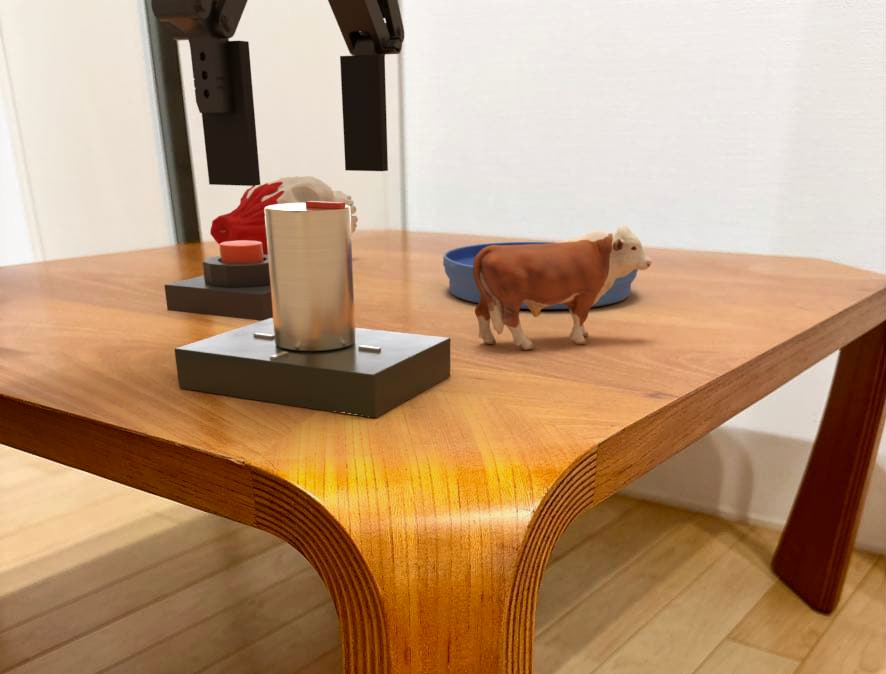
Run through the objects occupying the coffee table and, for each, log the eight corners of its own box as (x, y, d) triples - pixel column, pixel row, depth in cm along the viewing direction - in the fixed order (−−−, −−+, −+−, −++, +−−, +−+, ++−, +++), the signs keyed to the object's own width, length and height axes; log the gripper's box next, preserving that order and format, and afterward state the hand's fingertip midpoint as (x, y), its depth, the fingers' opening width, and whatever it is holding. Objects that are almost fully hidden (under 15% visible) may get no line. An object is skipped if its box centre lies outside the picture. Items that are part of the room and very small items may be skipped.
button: (212, 265, 78) (210, 244, 77) (238, 259, 81) (236, 239, 80) (247, 268, 76) (245, 246, 76) (272, 262, 79) (270, 241, 79)
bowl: (407, 288, 88) (406, 250, 87) (553, 272, 97) (555, 237, 96) (519, 321, 75) (520, 277, 73) (677, 299, 83) (681, 259, 82)
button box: (167, 310, 78) (161, 262, 77) (232, 293, 86) (228, 249, 84) (262, 321, 75) (258, 271, 73) (322, 302, 82) (319, 256, 80)
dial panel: (178, 388, 57) (173, 345, 56) (272, 353, 65) (269, 315, 64) (374, 418, 51) (373, 372, 50) (450, 376, 59) (450, 335, 58)
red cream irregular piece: (365, 254, 105) (247, 284, 98) (317, 243, 113) (205, 269, 106) (354, 171, 100) (229, 196, 93) (305, 165, 108) (187, 187, 101)
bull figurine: (651, 343, 68) (662, 228, 64) (478, 354, 65) (480, 234, 61) (625, 330, 71) (635, 221, 68) (460, 340, 68) (462, 226, 65)
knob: (258, 346, 56) (246, 202, 52) (304, 330, 60) (295, 196, 56) (328, 355, 54) (320, 206, 50) (370, 337, 58) (365, 199, 54)
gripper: (159, -447, 32) (224, 195, 41) (457, -231, 52) (457, 167, 61) (8, -399, 35) (99, 190, 44) (345, -212, 55) (360, 165, 64)
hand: (307, 177), depth 53 cm, fingers open, 13 cm apart
